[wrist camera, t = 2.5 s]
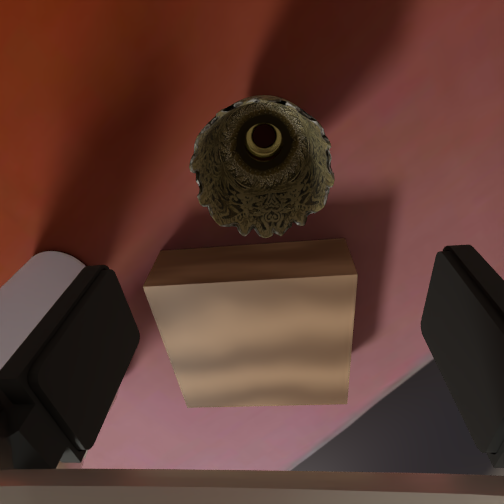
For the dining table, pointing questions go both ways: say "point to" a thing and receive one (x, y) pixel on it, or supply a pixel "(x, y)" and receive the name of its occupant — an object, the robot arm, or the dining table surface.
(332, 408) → the dining table surface
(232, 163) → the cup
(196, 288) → the walnut plinth
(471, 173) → the dining table surface
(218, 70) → the dining table surface
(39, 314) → the spray bottle
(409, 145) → the dining table surface
